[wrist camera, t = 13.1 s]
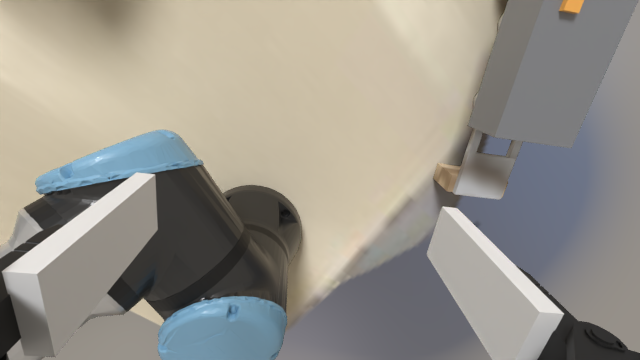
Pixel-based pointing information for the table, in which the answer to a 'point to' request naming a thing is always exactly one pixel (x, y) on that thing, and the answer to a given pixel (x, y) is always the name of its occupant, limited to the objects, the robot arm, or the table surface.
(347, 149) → the table surface
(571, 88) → the grey box orange tab
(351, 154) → the table surface
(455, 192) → the keyhole board
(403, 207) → the table surface
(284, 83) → the table surface
